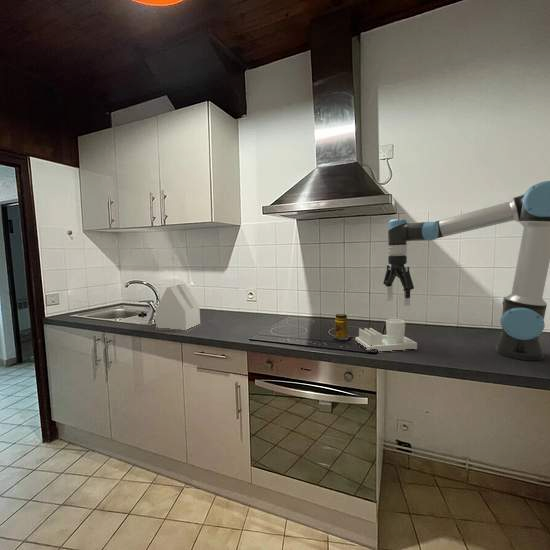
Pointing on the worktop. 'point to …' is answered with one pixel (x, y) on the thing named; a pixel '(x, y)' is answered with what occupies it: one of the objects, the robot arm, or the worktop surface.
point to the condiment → (341, 326)
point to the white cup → (395, 331)
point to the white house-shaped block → (177, 309)
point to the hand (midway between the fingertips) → (397, 302)
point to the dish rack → (382, 341)
